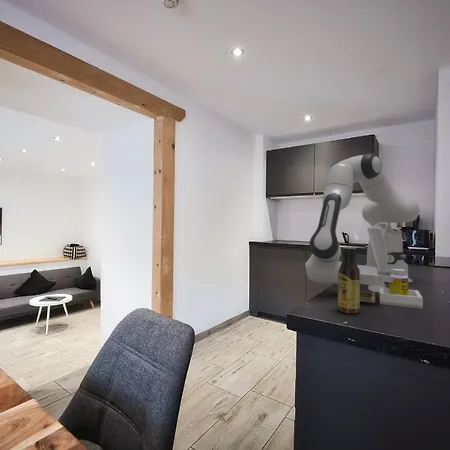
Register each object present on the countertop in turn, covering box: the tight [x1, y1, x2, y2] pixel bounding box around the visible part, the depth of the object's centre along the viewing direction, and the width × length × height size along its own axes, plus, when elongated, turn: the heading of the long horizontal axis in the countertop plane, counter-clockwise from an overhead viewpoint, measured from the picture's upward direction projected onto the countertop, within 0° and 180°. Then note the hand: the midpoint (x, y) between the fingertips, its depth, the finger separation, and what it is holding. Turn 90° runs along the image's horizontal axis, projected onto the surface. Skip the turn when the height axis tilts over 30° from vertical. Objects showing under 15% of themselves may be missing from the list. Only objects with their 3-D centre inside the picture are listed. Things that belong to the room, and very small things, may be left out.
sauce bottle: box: [337, 246, 361, 314], centre depth 87 cm, size 7×6×20 cm
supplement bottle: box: [389, 269, 409, 296], centre depth 98 cm, size 6×6×10 cm
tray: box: [379, 287, 424, 310], centre depth 98 cm, size 12×12×4 cm
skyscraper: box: [366, 222, 388, 293], centre depth 116 cm, size 8×8×28 cm
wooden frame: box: [360, 290, 376, 304], centre depth 104 cm, size 10×10×2 cm
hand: (392, 276), depth 99 cm, fingers open, 8 cm apart
